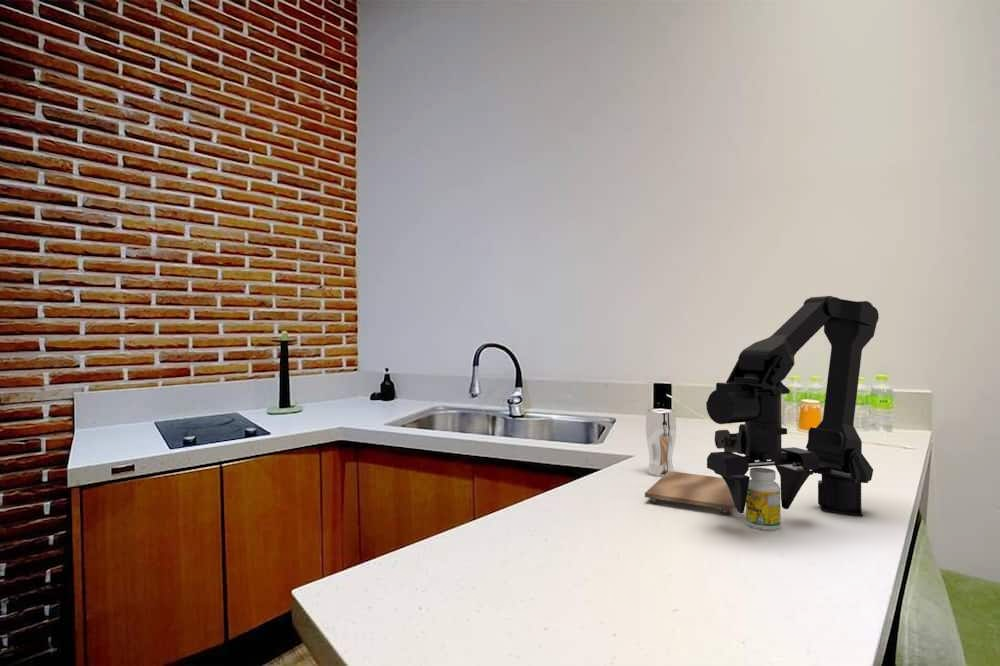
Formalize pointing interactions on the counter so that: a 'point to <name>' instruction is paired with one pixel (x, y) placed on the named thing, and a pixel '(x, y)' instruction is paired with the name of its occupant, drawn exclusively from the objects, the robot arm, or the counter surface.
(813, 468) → the robot arm
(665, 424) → the beer glass
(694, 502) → the peg shelf
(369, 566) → the counter surface
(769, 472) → the supplement bottle
